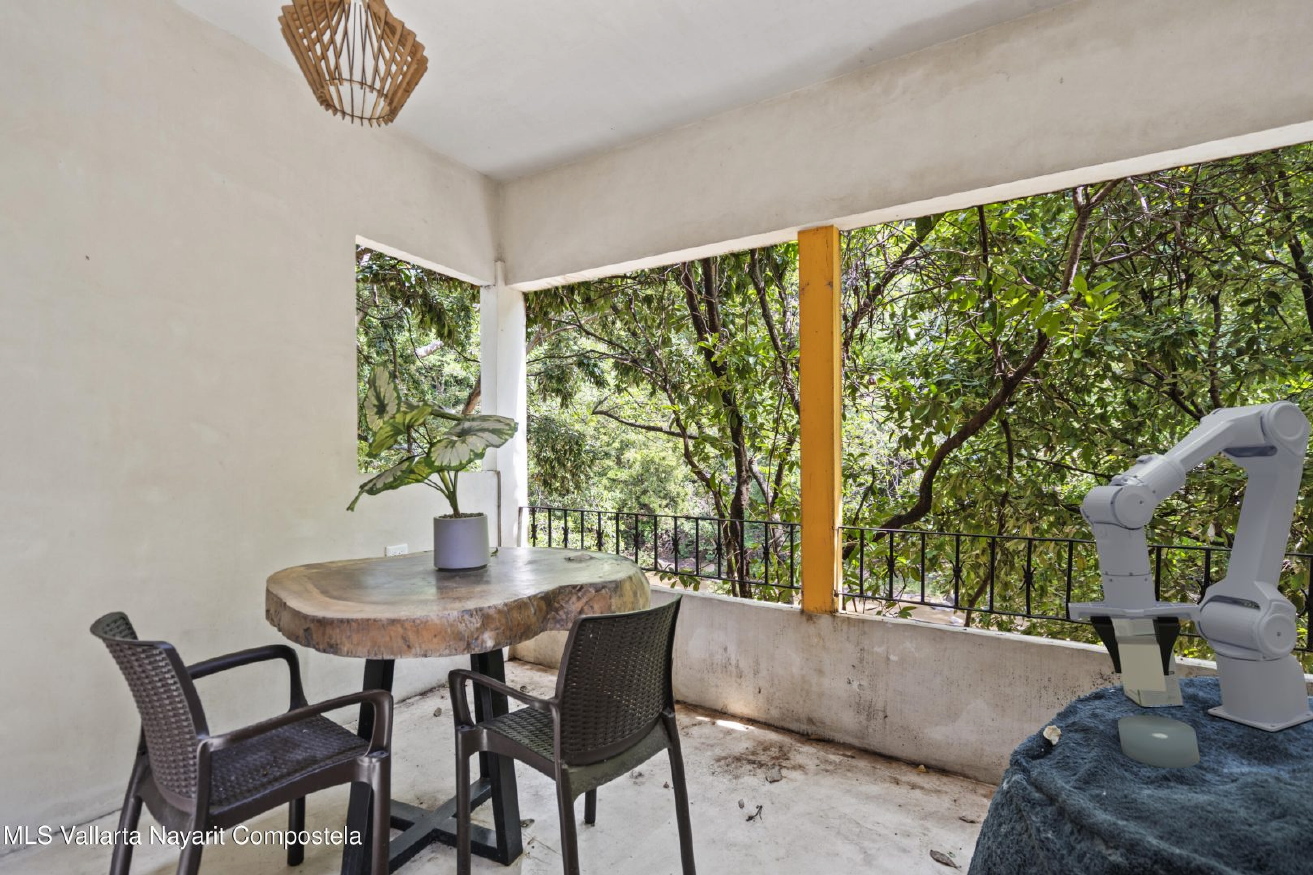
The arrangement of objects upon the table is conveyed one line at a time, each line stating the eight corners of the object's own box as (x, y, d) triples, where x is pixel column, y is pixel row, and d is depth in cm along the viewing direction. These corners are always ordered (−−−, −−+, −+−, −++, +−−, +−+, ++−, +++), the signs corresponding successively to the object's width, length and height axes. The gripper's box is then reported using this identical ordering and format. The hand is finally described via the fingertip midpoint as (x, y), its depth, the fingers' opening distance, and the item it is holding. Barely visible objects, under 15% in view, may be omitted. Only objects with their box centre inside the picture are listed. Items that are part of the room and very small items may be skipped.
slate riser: (1151, 736, 88) (1147, 710, 88) (1216, 759, 81) (1211, 731, 81) (1107, 750, 86) (1102, 723, 86) (1168, 775, 78) (1164, 745, 79)
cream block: (1120, 678, 91) (1114, 635, 92) (1160, 680, 89) (1153, 636, 89) (1124, 688, 87) (1118, 644, 88) (1166, 691, 85) (1159, 645, 86)
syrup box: (1185, 707, 96) (1169, 608, 96) (1140, 708, 97) (1125, 611, 98) (1163, 693, 101) (1148, 600, 102) (1121, 695, 102) (1107, 603, 103)
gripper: (1065, 578, 89) (1080, 678, 88) (1199, 576, 82) (1216, 685, 81) (1062, 569, 95) (1076, 662, 95) (1187, 567, 88) (1203, 667, 87)
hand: (1140, 672), depth 88 cm, fingers closed on cream block, 4 cm apart
